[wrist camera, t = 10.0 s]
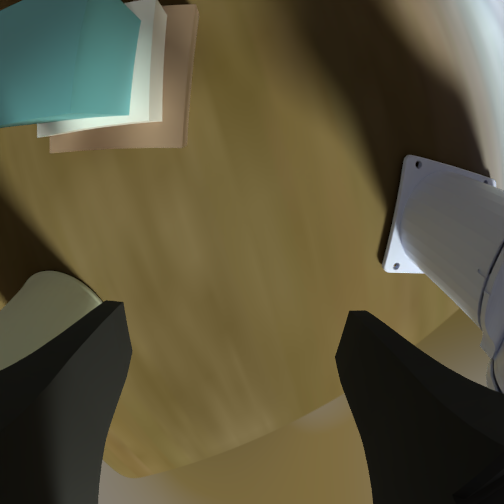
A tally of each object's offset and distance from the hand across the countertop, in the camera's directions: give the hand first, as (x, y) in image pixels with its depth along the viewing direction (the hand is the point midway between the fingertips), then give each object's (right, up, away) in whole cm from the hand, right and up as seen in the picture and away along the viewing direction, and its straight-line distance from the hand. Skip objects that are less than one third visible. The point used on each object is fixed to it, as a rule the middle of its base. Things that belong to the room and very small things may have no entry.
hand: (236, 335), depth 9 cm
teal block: (-7, +11, +1) cm, 13 cm away
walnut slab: (-7, +13, +5) cm, 15 cm away
